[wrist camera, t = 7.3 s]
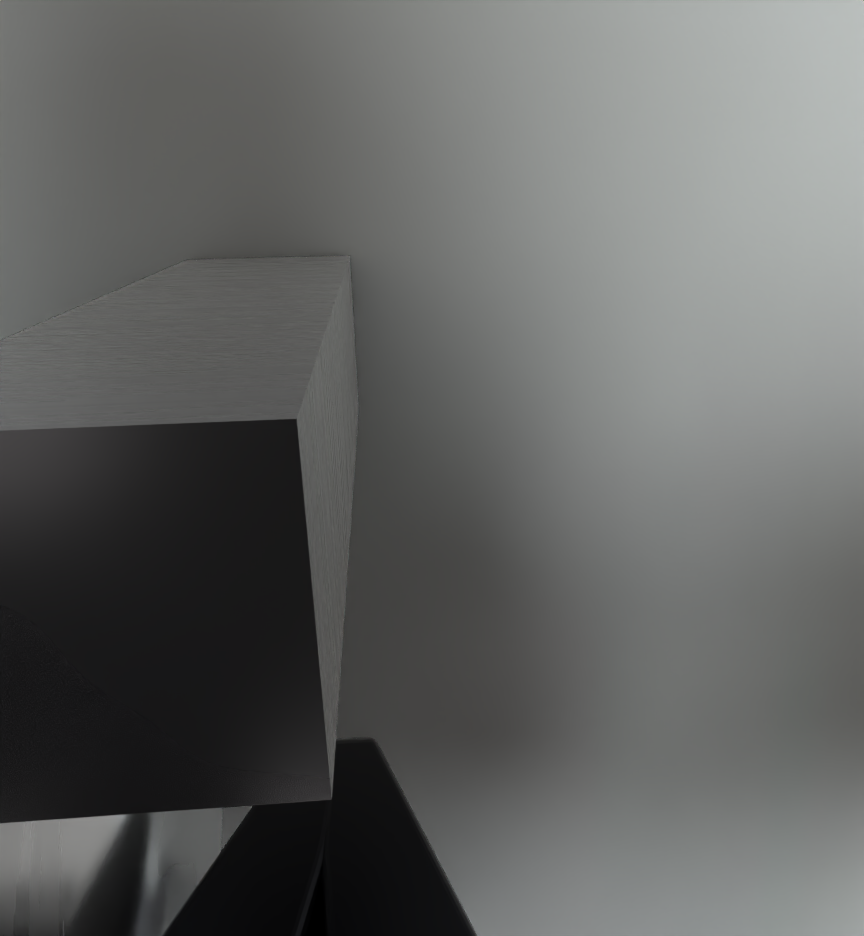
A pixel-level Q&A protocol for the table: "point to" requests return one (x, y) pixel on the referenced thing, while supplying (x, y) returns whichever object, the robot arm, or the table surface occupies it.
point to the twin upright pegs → (177, 541)
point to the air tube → (103, 872)
